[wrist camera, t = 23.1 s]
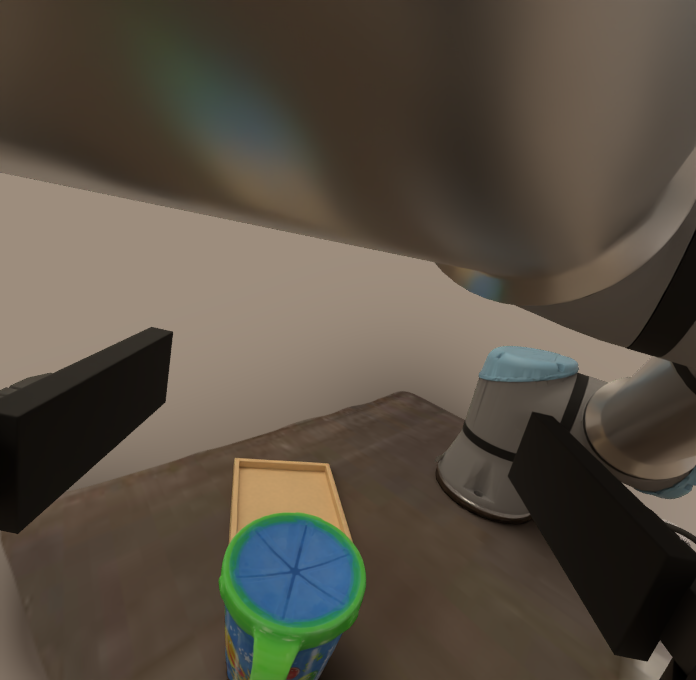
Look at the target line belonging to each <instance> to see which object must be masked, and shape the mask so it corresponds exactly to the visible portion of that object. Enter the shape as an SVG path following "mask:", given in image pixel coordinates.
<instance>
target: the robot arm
mask: <svg viewBox="0 0 696 680" xmlns="http://www.w3.org/2000/svg"><path fill="white" fill-rule="evenodd" d="M0 173H5V174H10V175H15V176H20V177H25V178H30V179H34V180H40V181H44V182H49V183H54V184H59V185H63V186H68V187H73V188H78V189H83V190H88V191H93V192H97V193H102V194H107V195H112V196H117V197H122V198H127V199H131V200H137V201H141V202H146V203H151V204H155V205H160V206H165V207H170V208H175V209H180V210H184V211H190V212H194V213H199V214H204V215H209V216H214V217H219V218H223V219H228V220H233V221H238V222H243V223H247V224H252V225H258V226H262V227H267V228H272V229H276V230H281V231H286V232H291V233H296V234H301V235H305V236H310V237H315V238H320V239H325V240H330V241H335V242H340V243H345V244H349V245H354V246H359V247H364V248H369V249H373V250H378V251H383V252H388V253H393V254H397V255H402V256H407V257H412V258H417V259H422V260H427V261H432V262H435V263H436V265H437V266H438V267H439V268H440V269H441V270H442V272H444V273H445V274H446V275H447V276H448V277H450V278H451V279H452V280H453V281H454V282H455V283H457V284H458V285H460V286H462V287H463V288H465V289H466V290H468V291H470V292H472V293H474V294H477V295H479V296H481V297H484V298H486V299H490V300H493V301H497V302H500V303H505V304H511V305H516V306H518V307H520V308H523V309H525V310H527V311H530V312H532V313H534V314H537V315H539V316H541V317H544V318H546V319H548V320H550V321H553V322H555V323H557V324H560V325H562V326H564V327H566V328H569V329H572V330H575V331H577V332H580V333H582V334H585V335H588V336H590V337H593V338H596V339H598V340H601V341H605V342H608V343H611V344H615V345H618V346H622V347H625V348H627V349H631V350H634V351H637V352H641V353H645V354H648V355H651V356H652V357H651V358H650V359H649V360H648V361H647V362H646V363H645V364H644V365H643V366H642V367H641V368H640V369H639V370H638V371H637V372H636V373H635V374H634V375H633V376H632V377H626V378H621V379H617V380H614V381H612V382H610V383H608V382H605V381H602V380H599V379H596V378H593V377H589V376H585V375H583V374H580V373H577V372H578V370H579V368H578V363H577V362H576V361H575V360H574V359H572V358H569V357H565V356H561V355H560V354H557V353H553V352H549V351H544V350H539V349H533V348H527V347H518V346H517V347H516V346H503V347H498V348H495V349H493V350H492V351H491V352H490V353H489V355H488V356H487V359H486V361H485V364H484V366H483V368H482V371H481V372H480V373H479V380H478V383H477V386H476V389H475V392H474V395H473V398H472V401H471V404H470V407H469V410H468V413H467V416H466V419H465V422H464V425H463V428H462V431H461V432H460V434H459V435H458V436H457V438H456V439H455V440H454V442H453V443H452V444H451V446H450V447H449V449H448V450H447V451H446V452H445V453H444V454H443V455H441V456H438V457H436V460H435V462H437V461H439V462H438V465H437V468H436V478H437V481H438V483H439V484H440V486H441V487H442V489H443V490H444V491H445V492H446V493H447V494H448V495H449V496H450V497H451V498H452V499H453V500H454V501H456V502H457V503H458V504H460V505H461V506H463V507H464V508H466V509H468V510H469V511H471V512H473V513H475V514H477V515H479V516H482V517H484V518H487V519H490V520H493V521H497V522H501V523H508V524H519V523H524V522H527V521H529V520H530V519H531V518H533V520H534V521H535V523H536V525H537V526H538V528H539V530H540V531H541V533H542V535H543V536H544V538H545V540H546V541H547V543H548V545H549V546H550V548H551V550H552V551H553V553H554V555H555V556H556V558H557V560H558V561H559V563H560V565H561V566H562V568H563V570H564V571H565V573H566V575H567V576H568V578H569V580H570V581H571V583H572V585H573V586H574V588H575V590H576V591H577V593H578V595H579V596H580V598H581V600H582V602H583V603H584V605H585V607H586V608H587V610H588V612H589V613H590V615H591V617H592V618H593V620H594V622H595V623H596V625H597V627H598V628H599V630H600V632H601V633H602V635H603V637H604V638H605V640H606V642H607V643H608V645H609V647H610V648H611V650H612V652H613V653H614V655H618V656H623V657H627V658H632V659H637V660H642V661H647V662H648V660H649V658H650V656H651V655H652V653H653V651H654V649H655V648H656V646H657V644H658V642H659V641H661V642H662V643H663V645H664V646H665V647H666V649H667V650H668V652H669V653H670V654H671V656H672V657H673V658H672V659H671V661H670V663H669V664H668V666H667V668H666V669H665V671H664V673H663V675H662V676H661V678H660V680H696V552H695V551H694V550H693V549H692V548H691V547H690V546H689V545H688V544H687V543H685V542H684V541H683V540H680V537H679V536H678V535H677V534H676V533H675V532H677V533H679V534H681V535H683V536H685V537H686V538H688V539H690V540H691V541H693V542H694V543H695V544H696V537H695V536H694V535H692V534H691V533H689V532H687V531H685V530H683V529H681V528H679V527H677V526H674V525H671V524H669V523H665V522H664V521H663V520H662V519H661V518H659V517H658V516H657V515H656V514H655V513H654V512H653V511H652V510H650V509H649V508H648V507H646V506H645V505H644V504H643V503H642V502H641V501H640V500H639V499H638V498H637V497H636V496H635V495H634V494H633V493H632V492H631V491H629V490H628V489H627V488H626V487H625V486H624V485H623V484H622V483H624V484H626V485H629V486H631V487H633V488H634V489H636V490H637V491H640V492H642V493H645V494H650V495H654V496H657V497H660V498H665V499H675V498H679V497H682V496H684V495H686V494H687V493H689V492H690V491H691V490H692V487H693V485H696V0H0ZM172 337H173V332H172V331H167V330H163V329H158V328H154V327H151V328H148V329H146V330H144V331H142V332H140V333H138V334H136V335H133V336H131V337H129V338H127V339H125V340H123V341H121V342H118V343H117V344H114V345H112V346H110V347H108V348H106V349H104V350H102V351H99V352H97V353H95V354H93V355H91V356H89V357H87V358H84V359H82V360H80V361H78V362H76V363H74V364H72V365H70V366H68V367H65V368H64V369H61V370H59V371H57V372H55V373H47V374H43V375H38V376H34V377H30V378H26V379H24V380H22V381H20V382H17V383H15V384H13V385H11V386H10V387H9V388H4V389H2V390H0V530H1V531H6V532H11V533H16V534H18V533H19V532H21V531H22V530H23V529H24V528H25V527H26V526H27V525H28V524H29V523H31V522H32V521H33V520H34V519H35V518H36V517H37V516H38V515H40V514H41V513H42V512H43V511H44V510H45V509H46V508H47V507H49V506H50V505H51V504H52V503H53V502H54V501H55V500H56V499H58V498H59V497H60V496H61V495H62V494H63V493H64V492H65V491H66V490H68V489H69V488H70V487H71V486H72V485H73V484H74V483H75V482H77V481H78V480H79V479H80V478H81V477H82V476H83V475H84V474H86V473H87V472H88V471H89V470H90V469H91V468H92V467H93V466H94V465H96V464H97V463H98V462H99V461H100V460H101V459H102V458H103V457H105V456H106V455H107V454H108V453H109V452H110V451H111V450H112V449H114V448H115V447H116V446H117V445H118V444H119V443H120V442H121V441H122V440H124V439H125V438H126V437H127V436H128V435H129V434H130V433H131V432H133V431H134V430H135V429H136V428H137V427H138V426H139V425H140V424H142V423H143V422H144V421H145V420H146V419H147V418H148V417H149V416H151V415H152V414H153V413H154V412H155V411H156V410H157V409H158V408H159V407H161V406H162V405H163V404H164V403H165V401H166V392H167V383H168V374H169V365H170V355H171V345H172ZM621 482H622V483H621Z"/></svg>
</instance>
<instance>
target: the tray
mask: <svg viewBox="0 0 696 680" xmlns="http://www.w3.org/2000/svg"><path fill="white" fill-rule="evenodd" d="M284 512H290V513H296V512H300V513H306V514H310V515H314V516H317V517H320V518H322V519H323V520H324V521H326V522H329V523H330V524H332V525H334V526H335V527H337V528H338V529H340V530H341V531H342V532H343V533H344V534H346V536H347V537H348V538H349V539H350V540H351V541H352V539H351V535H350V532H349V529H348V525H347V522H346V519H345V515H344V512H343V509H342V506H341V502H340V499H339V496H338V492H337V489H336V486H335V482H334V479H333V476H332V473H331V469H330V466H329V464H326V463H310V462H293V461H276V460H259V459H241V458H240V459H239V458H235V461H234V469H233V485H232V501H231V517H230V534H229V544H230V542H231V540H232V539H233V538H234V536H235V535H236V534H237V533H238V532H239V531H240V530H241V529H242V528H244V527H245V526H246V525H247V524H249V523H251V522H252V521H254V520H256V519H259V518H261V517H264V516H267V515H271V514H275V513H284Z"/></svg>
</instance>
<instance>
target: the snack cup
mask: <svg viewBox="0 0 696 680" xmlns="http://www.w3.org/2000/svg"><path fill="white" fill-rule="evenodd" d="M365 589H366V572H365V567H364V563H363V560H362V558H361V555H360V553H359V551H358V550H357V548H356V546H355V545H354V544H353V542H352V541H351V540H350V539H349V538H348V537H347V536H346V534H344V533H343V532H342V531H341V530H340V529H338V528H337V527H335V526H334V525H332V524H330V523H329V522H326V521H324V520H323V519H322V518H320V517H317V516H314V515H310V514H306V513H300V512H296V513H290V512H284V513H275V514H271V515H267V516H264V517H261V518H259V519H256V520H254V521H252V522H251V523H249V524H247V525H246V526H245V527H244V528H242V529H241V530H240V531H239V532H238V533H237V534H236V535H235V536H234V538H233V539H232V540H231V542H230V544H229V545H228V548H227V550H226V553H225V556H224V560H223V564H222V569H221V577H220V578H219V590H220V594H221V597H222V599H223V600H224V603H225V641H226V651H225V657H226V662H227V674H228V678H229V679H230V680H318V679H319V677H320V675H321V673H322V671H323V669H324V668H325V666H326V664H327V662H328V660H329V658H330V656H331V655H332V653H333V651H334V649H335V647H336V645H337V643H338V641H339V639H340V637H341V635H342V633H343V632H344V631H346V630H348V629H349V628H350V627H351V626H352V624H353V623H354V622H355V620H356V619H357V617H358V611H359V609H360V606H361V603H362V600H363V596H364V592H365Z"/></svg>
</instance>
